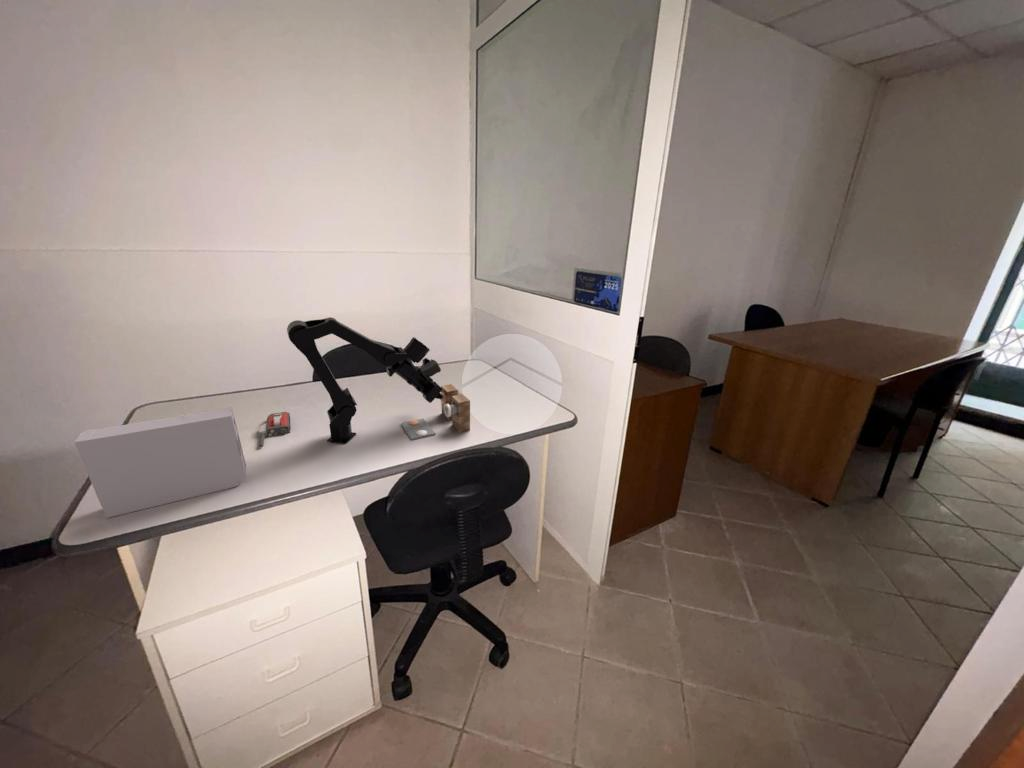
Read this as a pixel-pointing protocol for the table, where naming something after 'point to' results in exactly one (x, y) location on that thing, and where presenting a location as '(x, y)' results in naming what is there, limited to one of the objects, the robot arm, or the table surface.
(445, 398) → the plunger
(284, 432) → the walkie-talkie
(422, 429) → the card
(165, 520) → the table surface
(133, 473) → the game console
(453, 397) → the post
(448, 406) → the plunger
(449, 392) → the post
